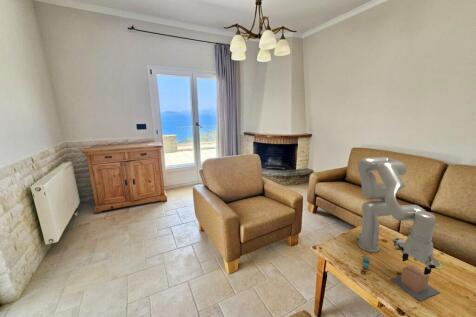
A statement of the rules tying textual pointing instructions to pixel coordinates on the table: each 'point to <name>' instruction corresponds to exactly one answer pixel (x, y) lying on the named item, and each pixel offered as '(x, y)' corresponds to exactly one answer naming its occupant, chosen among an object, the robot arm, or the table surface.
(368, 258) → the teal marble
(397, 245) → the robot toy
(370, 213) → the robot arm
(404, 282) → the brown cube
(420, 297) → the charcoal mat
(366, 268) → the teal marble
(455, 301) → the table surface
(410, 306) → the table surface
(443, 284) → the table surface
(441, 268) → the key
